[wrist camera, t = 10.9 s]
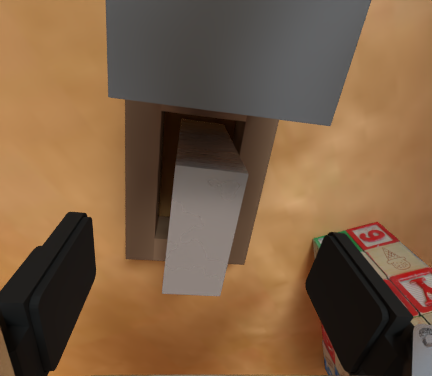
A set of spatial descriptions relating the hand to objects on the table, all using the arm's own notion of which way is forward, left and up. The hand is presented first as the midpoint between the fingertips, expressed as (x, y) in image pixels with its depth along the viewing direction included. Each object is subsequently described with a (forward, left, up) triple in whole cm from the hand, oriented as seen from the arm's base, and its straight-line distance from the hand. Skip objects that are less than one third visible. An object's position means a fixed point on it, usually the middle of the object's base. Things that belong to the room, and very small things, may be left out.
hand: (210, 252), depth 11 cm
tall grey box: (0, 0, -10) cm, 10 cm away
